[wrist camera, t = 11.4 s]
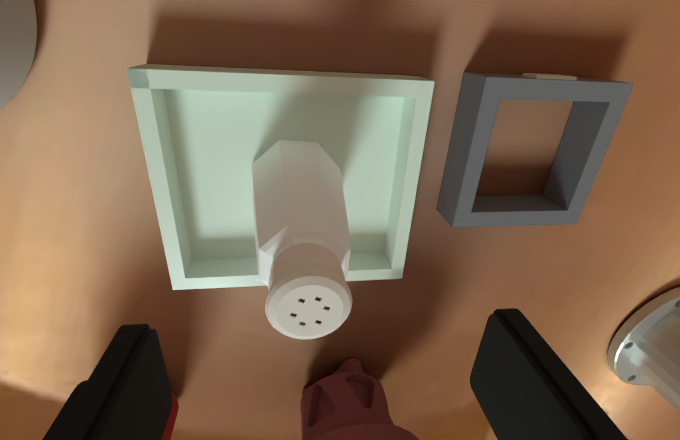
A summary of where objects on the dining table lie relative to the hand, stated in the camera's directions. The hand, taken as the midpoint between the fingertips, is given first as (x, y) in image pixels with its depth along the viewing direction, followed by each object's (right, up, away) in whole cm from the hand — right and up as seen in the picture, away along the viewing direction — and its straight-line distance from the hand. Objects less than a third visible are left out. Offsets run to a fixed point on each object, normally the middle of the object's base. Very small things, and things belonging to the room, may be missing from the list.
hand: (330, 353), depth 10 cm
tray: (-3, +6, +11) cm, 13 cm away
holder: (+11, +8, +12) cm, 19 cm away
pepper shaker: (-2, +6, +11) cm, 13 cm away
